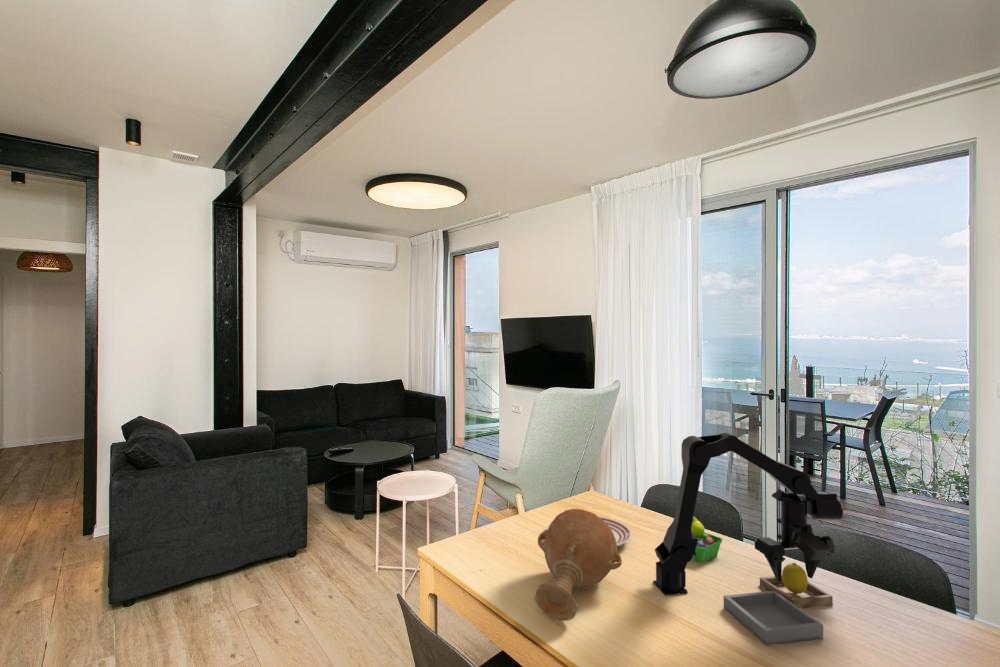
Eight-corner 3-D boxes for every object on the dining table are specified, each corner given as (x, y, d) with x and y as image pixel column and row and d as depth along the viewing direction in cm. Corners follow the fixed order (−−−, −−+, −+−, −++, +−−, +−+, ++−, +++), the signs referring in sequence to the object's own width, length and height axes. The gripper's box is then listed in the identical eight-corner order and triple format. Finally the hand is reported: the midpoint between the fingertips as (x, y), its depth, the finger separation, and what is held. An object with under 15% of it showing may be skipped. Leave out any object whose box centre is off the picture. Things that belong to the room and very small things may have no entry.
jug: (636, 533, 127) (619, 602, 99) (596, 577, 133) (569, 654, 105) (578, 484, 132) (546, 537, 105) (542, 528, 138) (502, 589, 110)
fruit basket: (702, 566, 133) (702, 527, 133) (675, 554, 140) (675, 517, 140) (723, 556, 140) (723, 518, 140) (696, 545, 147) (696, 509, 147)
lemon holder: (793, 608, 112) (793, 600, 112) (759, 585, 123) (759, 577, 123) (832, 604, 114) (832, 596, 114) (796, 581, 125) (796, 574, 125)
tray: (766, 645, 98) (766, 631, 98) (723, 608, 112) (723, 595, 112) (823, 638, 100) (823, 624, 101) (774, 602, 114) (774, 590, 114)
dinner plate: (531, 544, 147) (531, 534, 147) (566, 517, 170) (566, 508, 171) (616, 567, 133) (616, 555, 133) (641, 533, 156) (641, 523, 156)
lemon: (811, 601, 115) (811, 569, 115) (787, 599, 116) (786, 567, 116) (802, 590, 120) (801, 559, 120) (778, 587, 121) (778, 557, 122)
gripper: (786, 532, 109) (787, 599, 109) (853, 527, 112) (854, 592, 112) (752, 515, 120) (753, 576, 120) (815, 511, 123) (815, 570, 123)
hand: (794, 579), depth 118 cm, fingers open, 9 cm apart
